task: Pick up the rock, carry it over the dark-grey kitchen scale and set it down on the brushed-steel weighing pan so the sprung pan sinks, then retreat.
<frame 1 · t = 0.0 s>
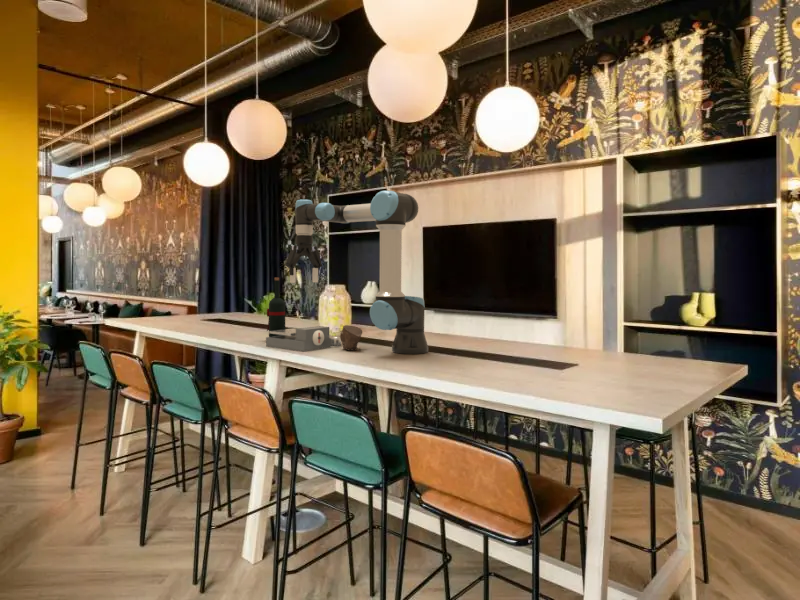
hand: (304, 282, 243), 28 cm above the table, fingers open, 13 cm apart
wine bottle: (275, 341, 254), on the table
spacer a: (335, 345, 242), on the table
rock: (351, 350, 230), on the table
scale base: (298, 346, 238), on the table
pan: (292, 333, 240), point 6 cm above the table, slide at -0.8 cm
spacer b: (325, 344, 246), on the table
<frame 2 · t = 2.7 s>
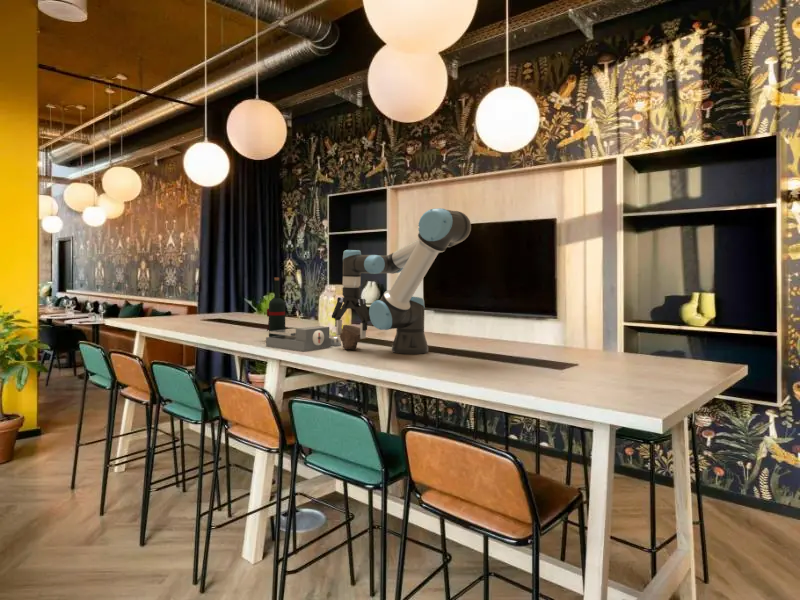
hand: (350, 336, 230), 6 cm above the table, fingers open, 13 cm apart
nothing on the table moved.
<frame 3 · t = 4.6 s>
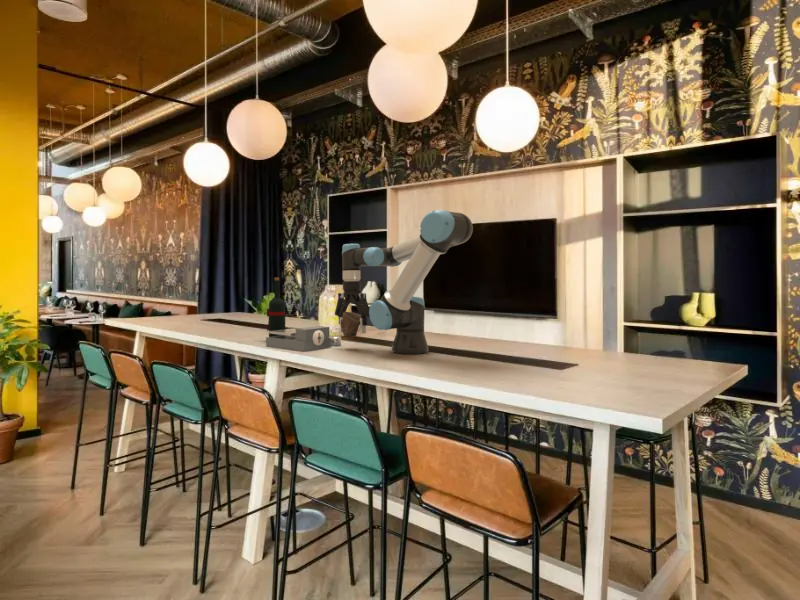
hand: (352, 332, 229), 7 cm above the table, fingers closed on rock, 11 cm apart
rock: (351, 336, 229), point 6 cm above the table, touching gripper
everything else where it was.
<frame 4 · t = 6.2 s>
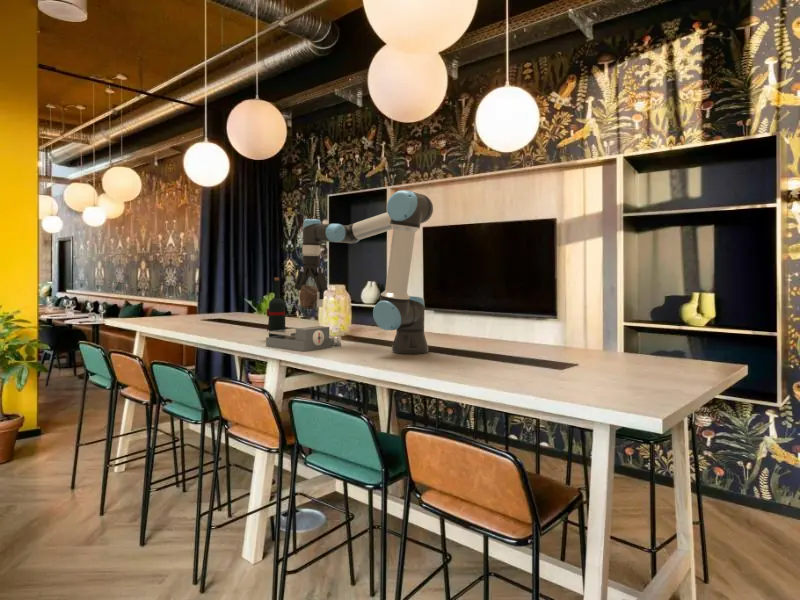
hand: (310, 305, 236), 18 cm above the table, fingers closed on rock, 11 cm apart
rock: (309, 309, 236), point 16 cm above the table, touching gripper
everything else where it was.
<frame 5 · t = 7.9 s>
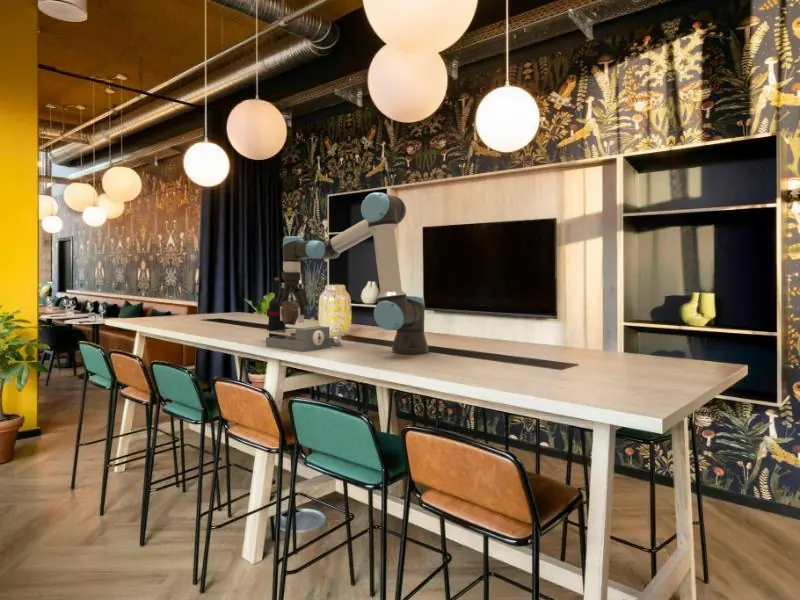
hand: (291, 321, 239), 11 cm above the table, fingers closed on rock, 11 cm apart
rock: (291, 324, 240), point 9 cm above the table, touching gripper
everything else where it was.
when the fingers open (9 cm above the table, at t = 9.2 s): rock drops 2 cm, resting on pan.
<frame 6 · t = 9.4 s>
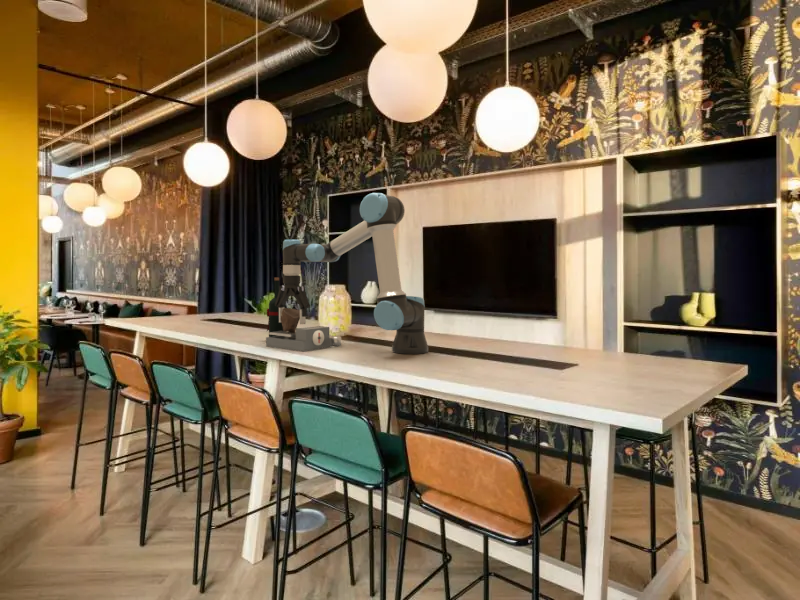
hand: (292, 323, 239), 10 cm above the table, fingers open, 13 cm apart
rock: (291, 332, 240), point 6 cm above the table, touching pan
pan: (292, 334, 240), point 5 cm above the table, slide at -1.2 cm, touching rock
everything else where it was.
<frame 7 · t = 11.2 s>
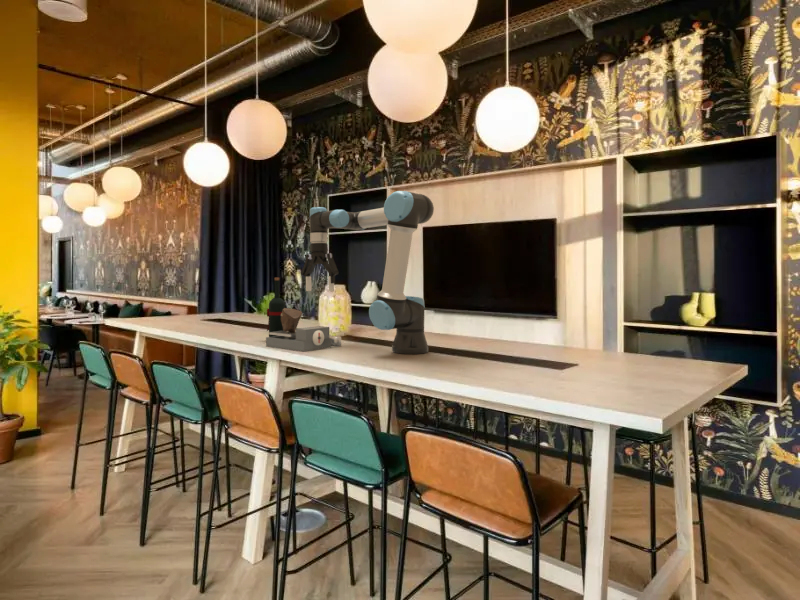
hand: (320, 291, 240), 24 cm above the table, fingers open, 13 cm apart
nothing on the table moved.
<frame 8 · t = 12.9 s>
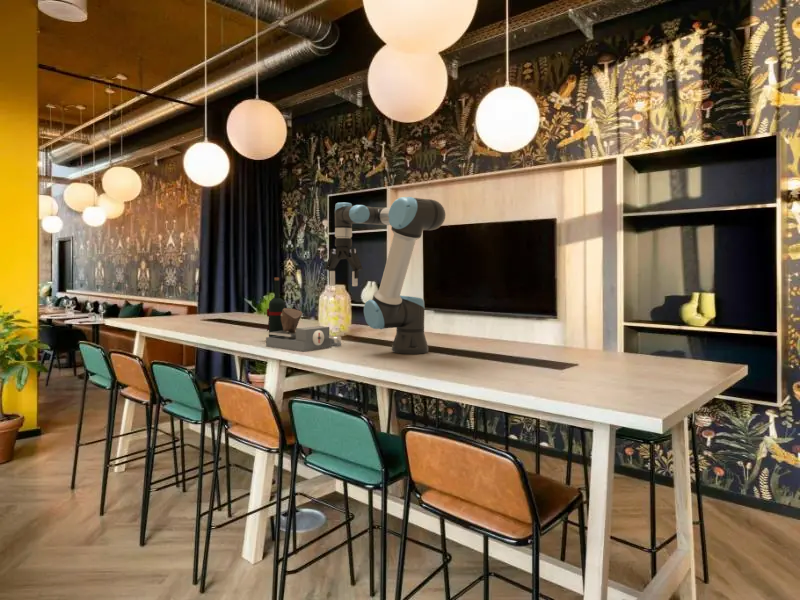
hand: (343, 285, 242), 27 cm above the table, fingers open, 13 cm apart
nothing on the table moved.
at the end: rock inside the target area on the pan (0.5 cm from its centre), point 7.3 cm above the pan's base; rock touching pan; the gripper is holding nothing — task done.
